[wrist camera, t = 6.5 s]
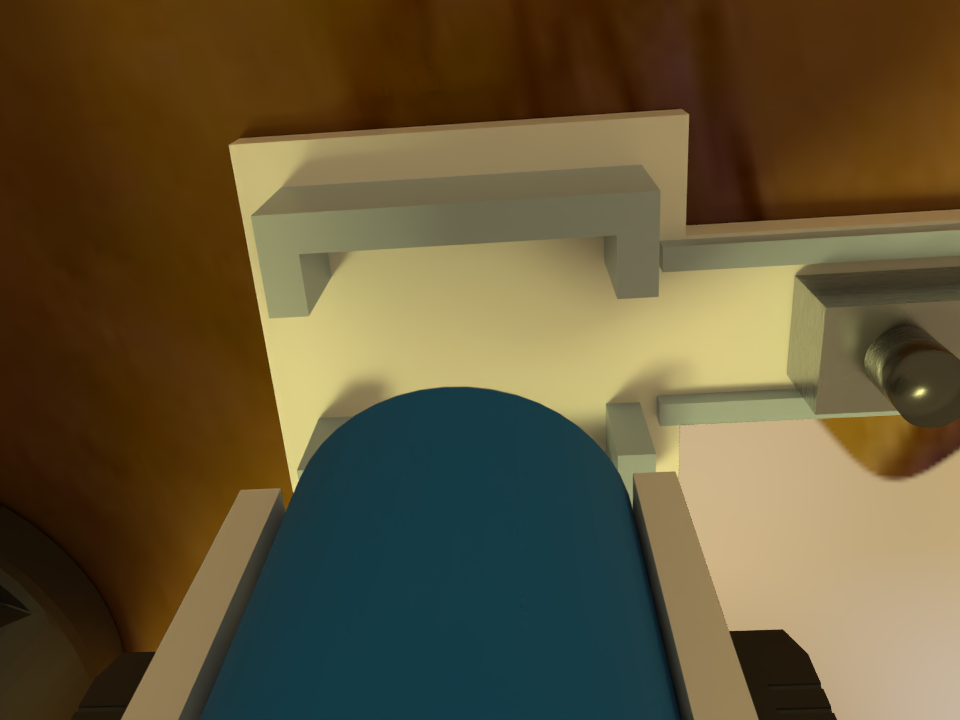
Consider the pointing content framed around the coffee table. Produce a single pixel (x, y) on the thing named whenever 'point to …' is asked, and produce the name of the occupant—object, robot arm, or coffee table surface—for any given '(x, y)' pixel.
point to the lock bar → (878, 343)
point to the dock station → (536, 277)
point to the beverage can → (452, 576)
